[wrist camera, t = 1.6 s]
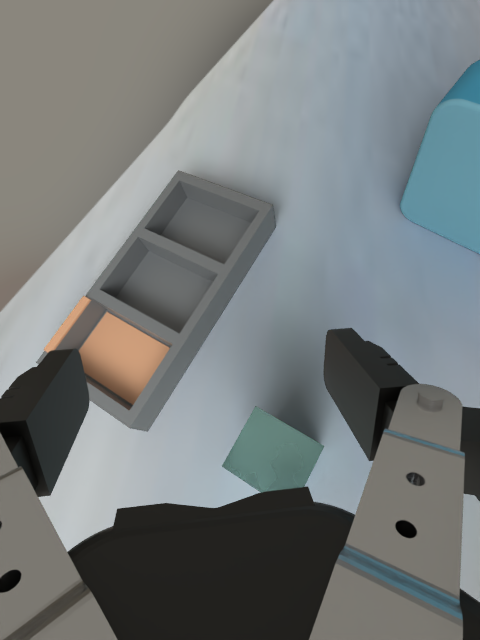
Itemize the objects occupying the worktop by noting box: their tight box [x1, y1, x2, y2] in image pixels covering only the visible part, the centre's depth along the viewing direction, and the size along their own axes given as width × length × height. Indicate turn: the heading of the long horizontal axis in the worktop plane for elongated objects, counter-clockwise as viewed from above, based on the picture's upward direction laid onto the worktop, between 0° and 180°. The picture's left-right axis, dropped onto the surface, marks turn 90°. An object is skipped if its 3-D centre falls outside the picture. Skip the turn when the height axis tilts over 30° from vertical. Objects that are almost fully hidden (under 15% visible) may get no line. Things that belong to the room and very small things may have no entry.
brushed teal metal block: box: [222, 406, 324, 492], centre depth 23 cm, size 4×4×10 cm
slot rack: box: [36, 170, 276, 432], centre depth 33 cm, size 22×11×4 cm, turn 149°
